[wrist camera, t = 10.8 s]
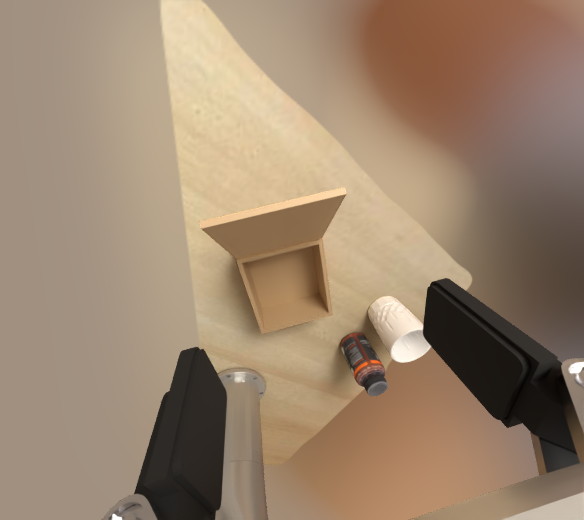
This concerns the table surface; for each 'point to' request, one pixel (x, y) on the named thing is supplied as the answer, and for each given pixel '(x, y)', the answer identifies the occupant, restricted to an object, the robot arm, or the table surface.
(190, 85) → the table surface
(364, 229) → the table surface
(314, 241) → the carton
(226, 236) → the cardboard box lid
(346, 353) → the supplement bottle
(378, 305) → the white cup
